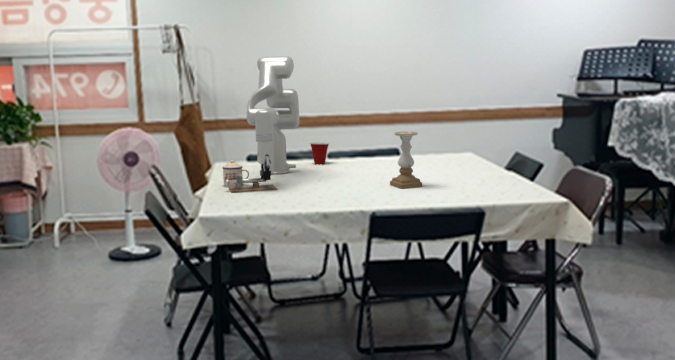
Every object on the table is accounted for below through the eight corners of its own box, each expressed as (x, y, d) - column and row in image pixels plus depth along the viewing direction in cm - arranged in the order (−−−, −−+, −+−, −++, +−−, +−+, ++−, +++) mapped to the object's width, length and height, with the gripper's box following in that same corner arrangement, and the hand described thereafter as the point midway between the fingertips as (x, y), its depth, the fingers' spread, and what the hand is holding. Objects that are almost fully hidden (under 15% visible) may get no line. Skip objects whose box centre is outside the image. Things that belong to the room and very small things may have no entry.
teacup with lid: (221, 187, 306) (220, 162, 304) (224, 183, 315) (223, 159, 313) (248, 187, 307) (247, 161, 305) (250, 183, 315) (249, 158, 314)
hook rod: (270, 180, 304) (270, 169, 303) (272, 182, 300) (272, 170, 299) (224, 183, 299) (223, 172, 298) (225, 185, 294) (225, 173, 293)
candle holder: (389, 185, 305) (389, 132, 301) (410, 183, 310) (410, 130, 306) (401, 188, 295) (401, 134, 291) (422, 186, 300) (423, 132, 296)
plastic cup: (333, 163, 375) (333, 141, 373) (322, 166, 366) (322, 143, 364) (317, 162, 380) (316, 140, 378) (306, 164, 371) (305, 142, 369)
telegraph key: (272, 186, 308) (272, 170, 306) (277, 189, 298) (276, 174, 297) (228, 189, 302) (227, 173, 301) (231, 193, 293) (231, 177, 291)
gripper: (252, 136, 305) (254, 176, 308) (259, 140, 289) (260, 182, 292) (269, 135, 307) (270, 175, 310) (276, 139, 291) (278, 181, 294)
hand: (265, 178), depth 301 cm, fingers closed on hook rod, 5 cm apart
